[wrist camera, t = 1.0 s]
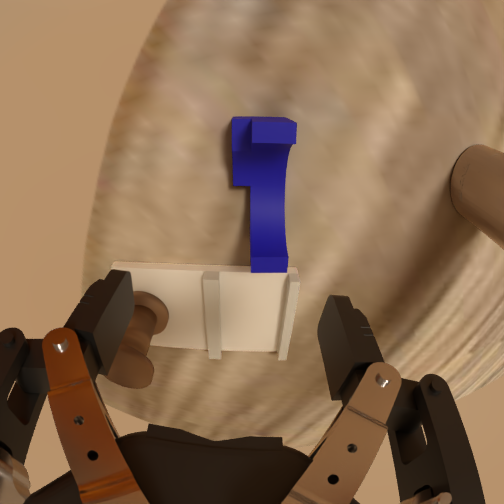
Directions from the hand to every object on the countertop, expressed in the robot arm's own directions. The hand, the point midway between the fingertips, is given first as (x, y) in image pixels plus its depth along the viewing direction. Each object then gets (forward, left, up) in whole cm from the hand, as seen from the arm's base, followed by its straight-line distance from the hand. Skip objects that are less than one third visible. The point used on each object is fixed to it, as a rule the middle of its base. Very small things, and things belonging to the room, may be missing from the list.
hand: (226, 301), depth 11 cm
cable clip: (-2, 0, -17) cm, 17 cm away
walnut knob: (+11, +15, -16) cm, 24 cm away
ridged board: (+4, +15, -17) cm, 23 cm away
